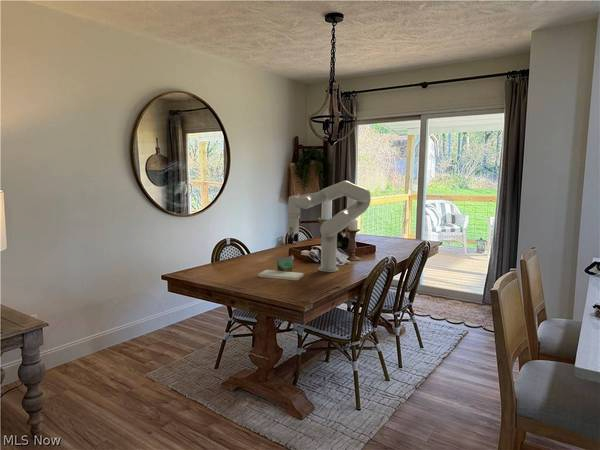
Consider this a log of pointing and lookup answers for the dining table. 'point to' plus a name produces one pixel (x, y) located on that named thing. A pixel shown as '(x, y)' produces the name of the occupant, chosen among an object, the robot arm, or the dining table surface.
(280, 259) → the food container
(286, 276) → the cutting board
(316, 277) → the dining table surface
